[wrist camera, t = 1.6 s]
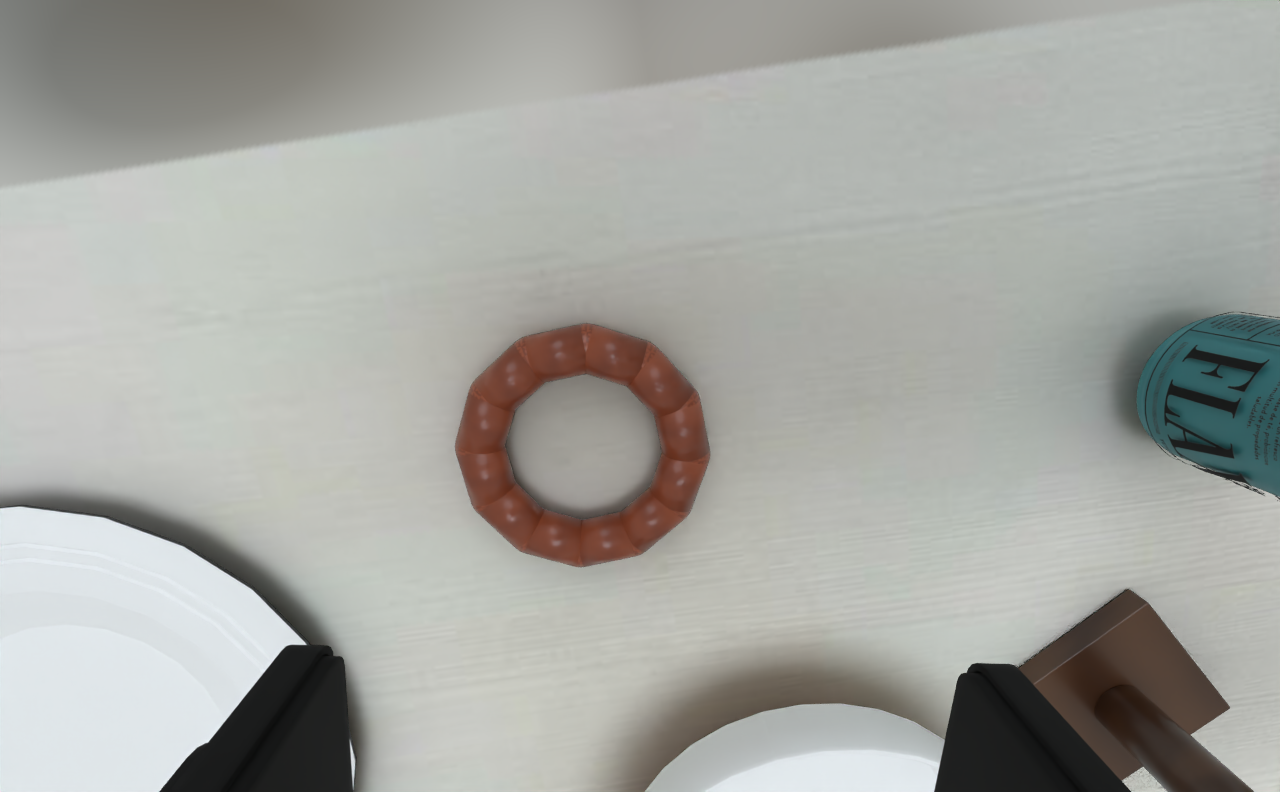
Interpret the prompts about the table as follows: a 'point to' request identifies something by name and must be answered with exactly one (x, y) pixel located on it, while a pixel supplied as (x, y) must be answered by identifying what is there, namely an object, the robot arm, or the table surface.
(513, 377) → the ring
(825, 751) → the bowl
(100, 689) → the plate
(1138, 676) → the peg post
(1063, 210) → the table surface
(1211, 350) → the beverage bottle
